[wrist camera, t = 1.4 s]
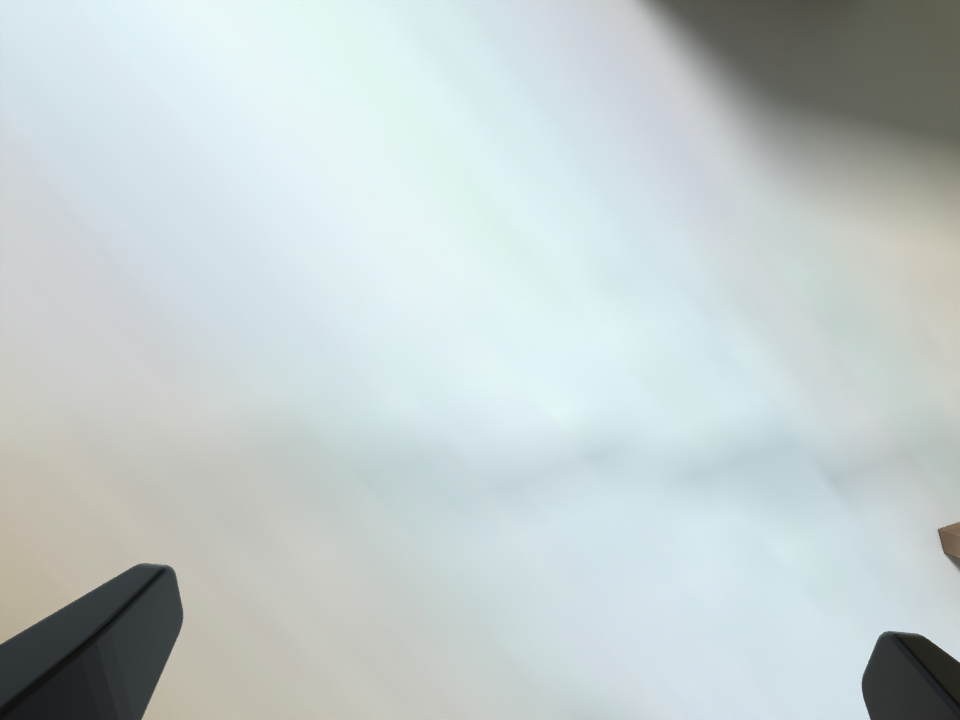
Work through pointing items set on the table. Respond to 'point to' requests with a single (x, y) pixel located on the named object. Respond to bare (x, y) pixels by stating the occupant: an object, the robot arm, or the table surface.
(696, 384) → the table surface
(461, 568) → the table surface
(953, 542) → the wooden u-shaped bracket
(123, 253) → the table surface
